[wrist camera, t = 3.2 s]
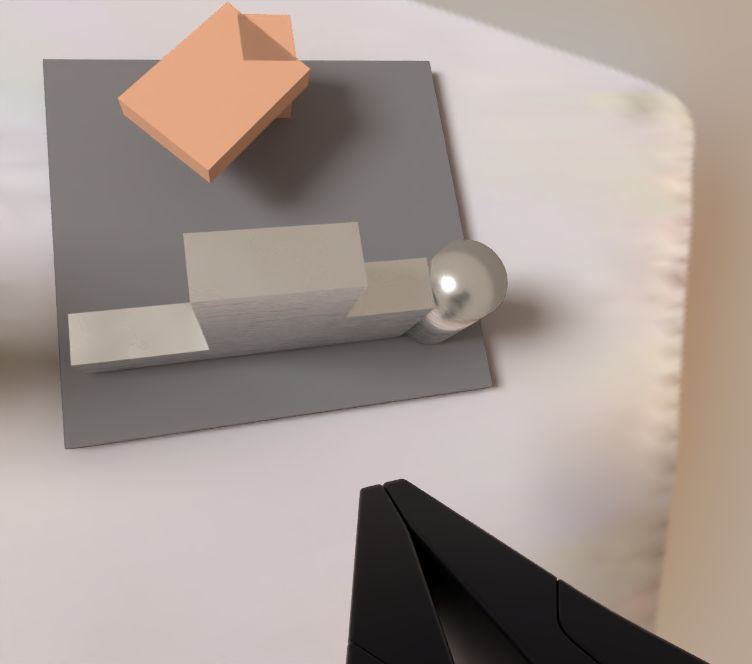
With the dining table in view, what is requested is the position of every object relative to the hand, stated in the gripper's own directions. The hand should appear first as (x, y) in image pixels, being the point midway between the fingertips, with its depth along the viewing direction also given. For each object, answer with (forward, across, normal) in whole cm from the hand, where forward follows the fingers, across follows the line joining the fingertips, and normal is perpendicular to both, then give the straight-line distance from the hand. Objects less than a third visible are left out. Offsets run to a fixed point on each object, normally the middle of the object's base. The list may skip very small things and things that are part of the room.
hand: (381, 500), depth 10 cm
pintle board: (+17, 0, -1) cm, 17 cm away
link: (+13, 0, -4) cm, 13 cm away
